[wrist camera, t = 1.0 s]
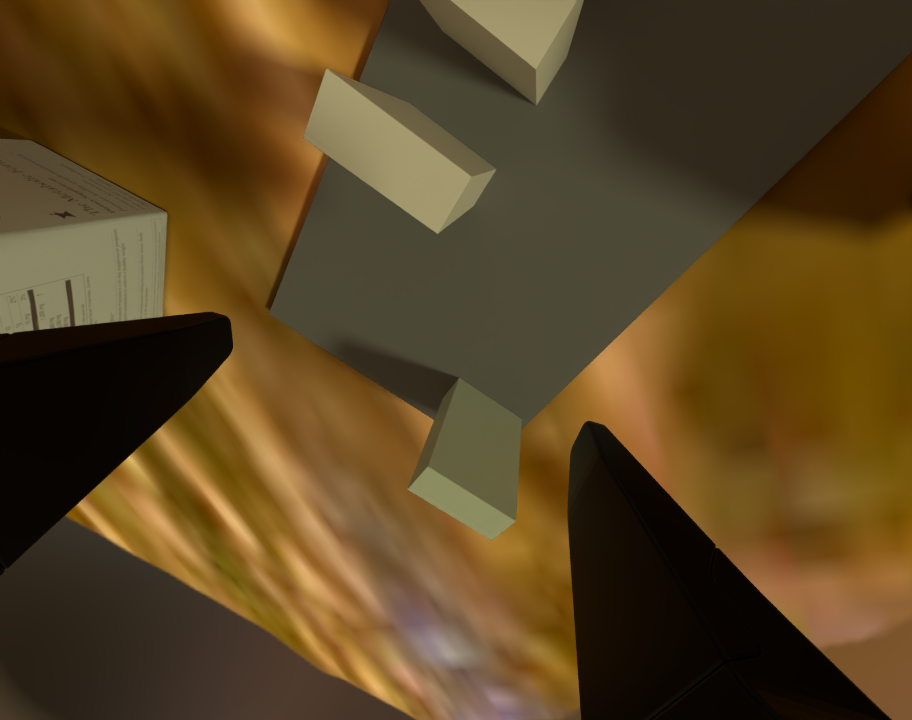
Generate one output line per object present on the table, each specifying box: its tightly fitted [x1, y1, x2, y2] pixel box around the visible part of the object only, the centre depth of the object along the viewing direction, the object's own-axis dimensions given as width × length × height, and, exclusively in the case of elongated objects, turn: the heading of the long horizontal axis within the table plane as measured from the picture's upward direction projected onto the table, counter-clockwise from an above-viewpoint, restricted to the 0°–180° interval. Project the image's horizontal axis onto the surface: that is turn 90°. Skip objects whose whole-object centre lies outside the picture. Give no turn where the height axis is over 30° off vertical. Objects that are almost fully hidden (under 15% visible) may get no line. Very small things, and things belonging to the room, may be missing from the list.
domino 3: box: [408, 378, 522, 540], centre depth 21 cm, size 5×2×8 cm, turn 57°
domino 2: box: [420, 0, 584, 105], centre depth 12 cm, size 5×2×8 cm, turn 57°
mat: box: [269, 0, 912, 429], centre depth 18 cm, size 18×32×1 cm, turn 147°
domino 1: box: [303, 69, 496, 234], centre depth 15 cm, size 5×2×8 cm, turn 57°
